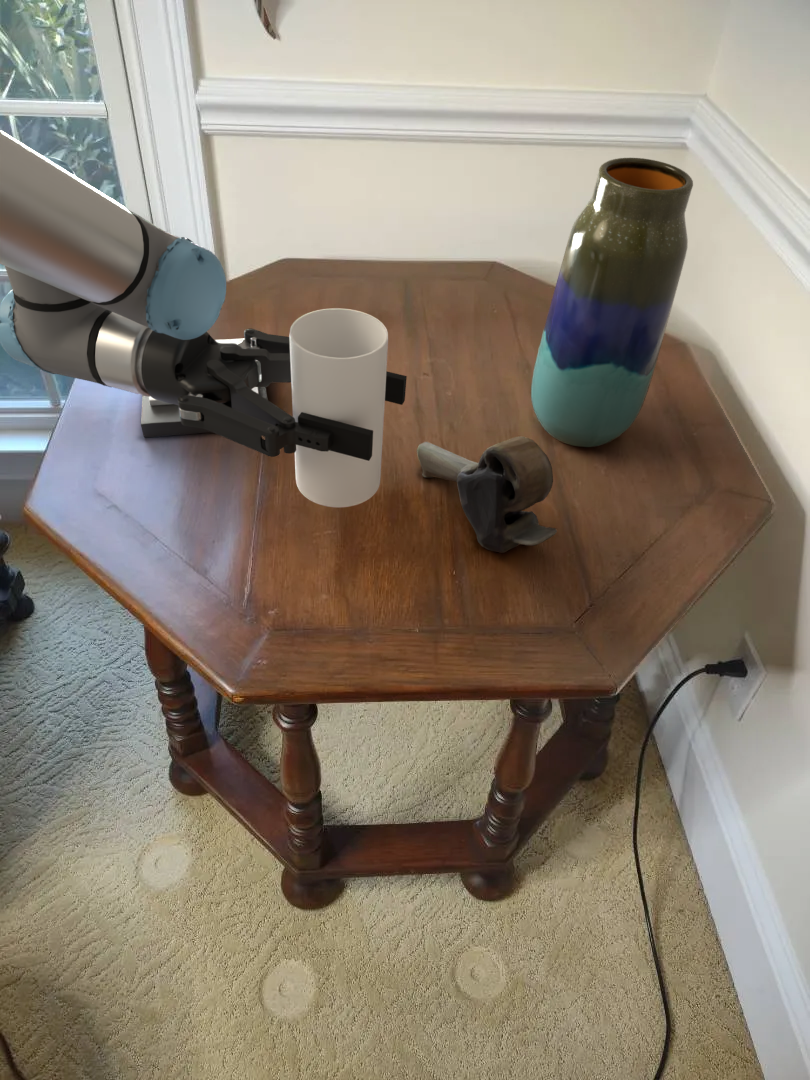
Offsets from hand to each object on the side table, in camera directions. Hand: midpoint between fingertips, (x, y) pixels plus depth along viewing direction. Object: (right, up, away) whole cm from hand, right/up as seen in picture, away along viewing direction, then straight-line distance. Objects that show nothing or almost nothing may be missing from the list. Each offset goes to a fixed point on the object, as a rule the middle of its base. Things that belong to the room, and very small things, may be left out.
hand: (388, 416), depth 68 cm
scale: (-24, +8, +31) cm, 40 cm away
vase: (+24, +3, +31) cm, 39 cm away
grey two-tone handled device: (+10, -8, +18) cm, 22 cm away
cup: (-5, -5, +7) cm, 10 cm away
